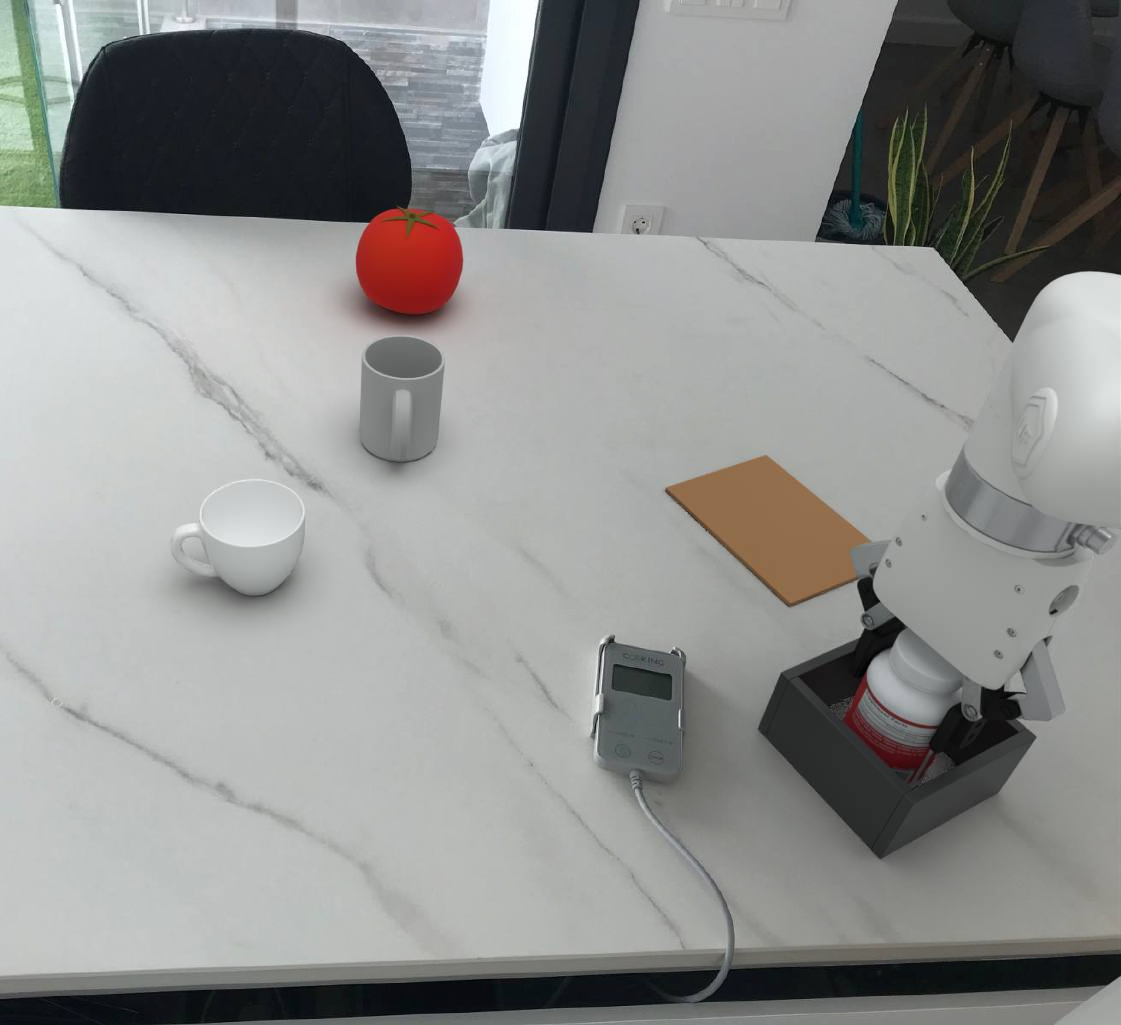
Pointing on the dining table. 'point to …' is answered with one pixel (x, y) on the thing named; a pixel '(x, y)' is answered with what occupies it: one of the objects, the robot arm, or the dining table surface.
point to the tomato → (409, 260)
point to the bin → (860, 774)
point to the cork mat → (774, 527)
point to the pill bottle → (904, 704)
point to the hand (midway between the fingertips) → (906, 703)
